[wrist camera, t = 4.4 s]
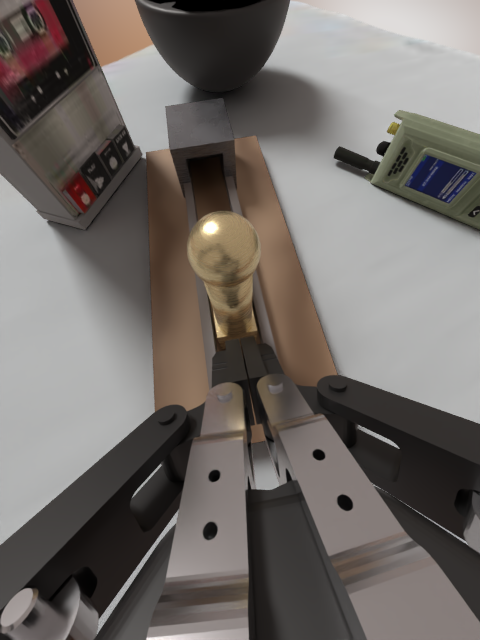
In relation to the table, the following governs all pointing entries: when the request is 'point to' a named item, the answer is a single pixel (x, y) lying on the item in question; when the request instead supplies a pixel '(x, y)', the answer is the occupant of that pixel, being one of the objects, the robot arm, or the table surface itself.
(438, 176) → the handheld radio
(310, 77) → the table surface
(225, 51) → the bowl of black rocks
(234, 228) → the brass bolt
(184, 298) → the wooden track base
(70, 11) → the cassette tape recorder
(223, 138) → the steel keeper
